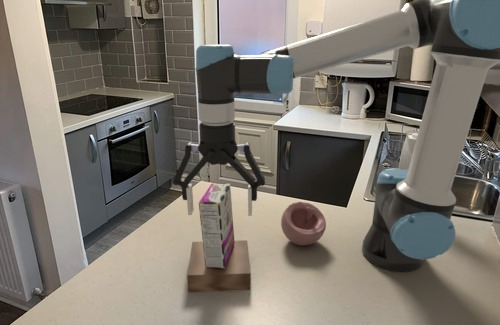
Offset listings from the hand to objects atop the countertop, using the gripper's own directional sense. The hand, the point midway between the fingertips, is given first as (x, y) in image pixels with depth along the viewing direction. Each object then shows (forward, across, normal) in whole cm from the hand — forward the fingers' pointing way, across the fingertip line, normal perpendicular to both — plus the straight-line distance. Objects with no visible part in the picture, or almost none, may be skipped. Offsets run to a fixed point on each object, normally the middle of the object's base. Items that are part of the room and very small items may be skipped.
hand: (220, 212), depth 87 cm
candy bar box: (+12, 0, 0) cm, 12 cm away
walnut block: (+16, +1, 0) cm, 17 cm away
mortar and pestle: (+16, -20, -15) cm, 30 cm away
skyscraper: (+17, -55, -35) cm, 68 cm away
